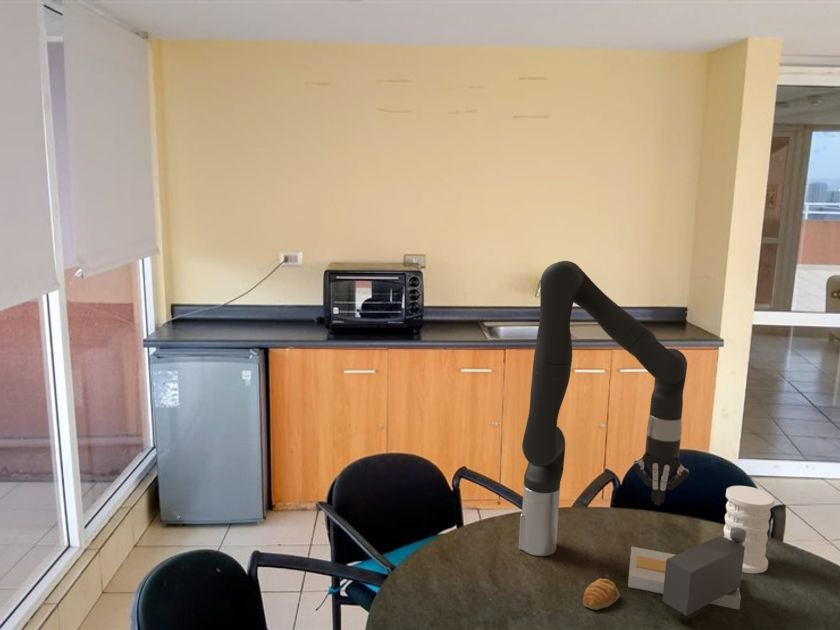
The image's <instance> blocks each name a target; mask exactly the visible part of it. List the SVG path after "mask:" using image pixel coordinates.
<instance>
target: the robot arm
mask: <svg viewBox="0 0 840 630" xmlns="http://www.w3.org/2000/svg"><path fill="white" fill-rule="evenodd" d="M540 278H541V279H540V287H539V288H540V292H539V293H540V294H539V295H540V303H539V304H540V306H539V307H540V309H539V313H540V315H539V324H538V329H537V333H536V341H535V347H534V355H533V360H532V361H533V362H532V373H531V375H532V376H531V384H530V385H531V386H530V396H529V397H530V399H529V409H528V415H527V416H528V417H527V420H526V425H525V430H524V433H523V434H524V435H523V437H522V444H521V445H522V446H521V447H522V452H523V455H524V458H525V459H526V461H527V466H526V469H525V472H524V475H523V487H522V488H523V491H522V493H523V494H522V511H521V512H520V513H521V514H519V515H520V516H519V517H520V518H519V520H520V521H519V534H518V535H519V536H518V537H519V538H518V550H522V551H523V552H525V553H527V554H530V555H532V556H538V557H546V556H551V555H553V554H554V553H555V552H556V551H557V544H558V543H557V542H558V541H557V538H558V526H559V525H558V524H559V523H558V522H559V510H560V509H559V506H560V495H561V493H560V490H561V481H562V478H563V473H564V466H565V456H566V455H565V454H566V438H565V436H564V433H563V430H561V428H560V427H559V426H558V419H559V415H560V410H561V407H562V405H563V401H564V398H565V396H566V393H567V390H568V386H569V382H570V378H571V371H572V365H573V364H572V362H573V344H572V343H573V341H572V336H571V318H572V317H571V316H572V311H573V306H574V304H576V305H577V306H579V308H581V309H582V310H583V311H585V312H586V313H587V314H588V315H589V316H591V318H593V320H594V321H595V322H596V323H597V324H598V326H599V327H600V328H601V329H602V330H603V331H604V332H605V334H606V335H607V336H609V338H611V339H612V341H614V342H615V343H616V344H618V345H619V347H621V348H623V349H624V350H625V351H626V352H628V353H629V354H630V355H631V356H633V357H634V358H635V359H636V360H637V361H638V363H639V364H640V365H641V366H642V367H643V368H644V369H645V370H646V371H647V372H648V373H649V374H650V375H651V376H652V377H654V384H653V391H652V394H651V397H650V406H649V407H650V408H649V415H648V416H649V417H648V420H647V426H646V437H645V438H646V439H645V451H644V454H643V455H642V458H641V459H639V460H634V461H633V465H632V466H633V469H634V470H635V472H636V474H637V475H638V476H639V478H640V479H641V481H642V482H643V483H644V485H645V486H646V487H650V488H651V489H652V490H651V501H652V502H654V503H653V504H654V505H658V506H659V505H660V506H661V504H663V503H664V502H665V496H666V495H665V494H666V491H667V490H670V491H671V490H674V489H675V488H676V487H678V485H680V484H681V483H682V482H683V481H684V480H686V478H688V477H689V476H690V475H689V474H690V473H689V471H690V470H689V469H688V468H687V467H684V466H683V465H682V463H681V459H680V452H681V451H680V450H681V441H682V433H683V432H682V430H683V429H682V428H683V423H682V418H683V417H682V415H683V406H684V400H683V399H684V389H685V384H686V377H687V370H688V360H687V357H686V356H685V354H684V353H683V352H682V351H680V350H678V349H677V348H666V347H665V346H664V345H663V344H662V343H661V342H660V341H658V339H657V337H656V336H655V334H654V333H653V332H652V331H651V329H650V328H648V327H646V326H645V325H644V324H642V323H641V322H640V321H638V319H636V317H634V316H632V315H631V314H629V313H628V312H627V311H626V310H625V309H623V308H622V307H621V306H619V305H618V304H617V303H616V302H615V301H614V300H612V299H611V298H610V297H609V296H607V295H606V294H605V293H604V292H603V291H602V290H601V289H600V288H599V287H598V286H597V285H596V283H594V281H593V280H592V279H591V278H590V277H589V276H588V275H587V274H586V273H585V272H584V271H583V269H582V268H581V267H580V266H579V265H578V264H577V263H575V262H573V261H570V260H561V261H558V262H554V263H552V264H550V265H549V266H547V267H546V268H545V270H544V271H543V272H542V273H541V277H540ZM645 466H646V469H647V470H648V472H649V473H650V474H652V479H651V478H650V476H649V475H648V474H647V472H646V471H645V469H644V468H645ZM675 472H676V473H677V474H675V475H674V476H673V477H672V478H671V479H670V480H668V479H669V477H670V476H672V475H673V474H674V473H675ZM659 477H661V478H660V483H659Z"/></svg>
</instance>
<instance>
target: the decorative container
mask: <svg viewBox="0 0 840 630" xmlns="http://www.w3.org/2000/svg"><path fill="white" fill-rule="evenodd" d="M725 490H726V492H725V497H726V499H727V502H726V504H725V508H726V513H725V514H724V522H725V524H724V526H723V535H724V536H723V537H725V538H727V539H729V540H732V539H731V538H730V532H731V528H733V527H737V528H741V529H743V530H745V531H746V537H745V541H744V542H743V546H744V547H745V550H744V559H743V567H742V573H747V574H760V573H764V572H766V571H767V570H768V568H769V560H768V559H767V557H766V554H767V546H766V545H767V542H768V541H769V540H768V539H769V535H768V531H769V529H770V523H769V521H770V519H771V516H772V513H771V509H772V508H773V507H774V506H775V504H774V503H775V497H773V495H772V494H770V493H769V492H766V491H765V490H762V489H760V488H756V487H752V486H747V485H731V486H729V487H727V488H726V489H725Z"/></svg>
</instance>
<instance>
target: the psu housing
mask: <svg viewBox="0 0 840 630" xmlns="http://www.w3.org/2000/svg"><path fill="white" fill-rule="evenodd" d="M731 541H733V540H731ZM734 542H736V541H734ZM736 543H738V544H740V545H742V546H743V542H736ZM675 555H676V554H674V553H670V552H663V551H657V550H653V549H647V548H641V547H637V546H631V548H630V557H629V558H630V561H629V570H628V579H627V580H628V581H627V588H630V589H631V588H632V589H637V590H642V591H645V592H646V591H647V592H652V593H657V594H660V595H661V594H662V595H663V590H664V579H665V569H666V559H668V558H671V557H673V556H675ZM741 598H742V597H741V592H740V587H739V588H737V589H736V590H734V591H732V592H730V593H728V594H726V595H724V596H722V597H721V598H719V599H717V600H715V601H713V602H711V603H709V604H710V605H715V606H720V607H725V608H728V609H735V610H740V609H741V608H740V607H741V600H742V599H741ZM709 604H708V605H709Z"/></svg>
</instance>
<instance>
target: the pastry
mask: <svg viewBox="0 0 840 630" xmlns="http://www.w3.org/2000/svg"><path fill="white" fill-rule="evenodd" d="M620 596H621V594H620V592H619V589H618V588H617V586H616V584H615V583H614V582H613V581H612V580H610V579H608V578H600V577H599V579H596V580H595V581H593V582H592V583H590V584H589V585H588V586H587V587H586V589H585V590H584V594H583V598H582V604H583V606H584V607H586V608H588V609H591V610H595V611H599V610H601V609H605V608H610V606H611V605H613V604H614V603H616V601H617V600H618V599H619V598H620Z"/></svg>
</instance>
